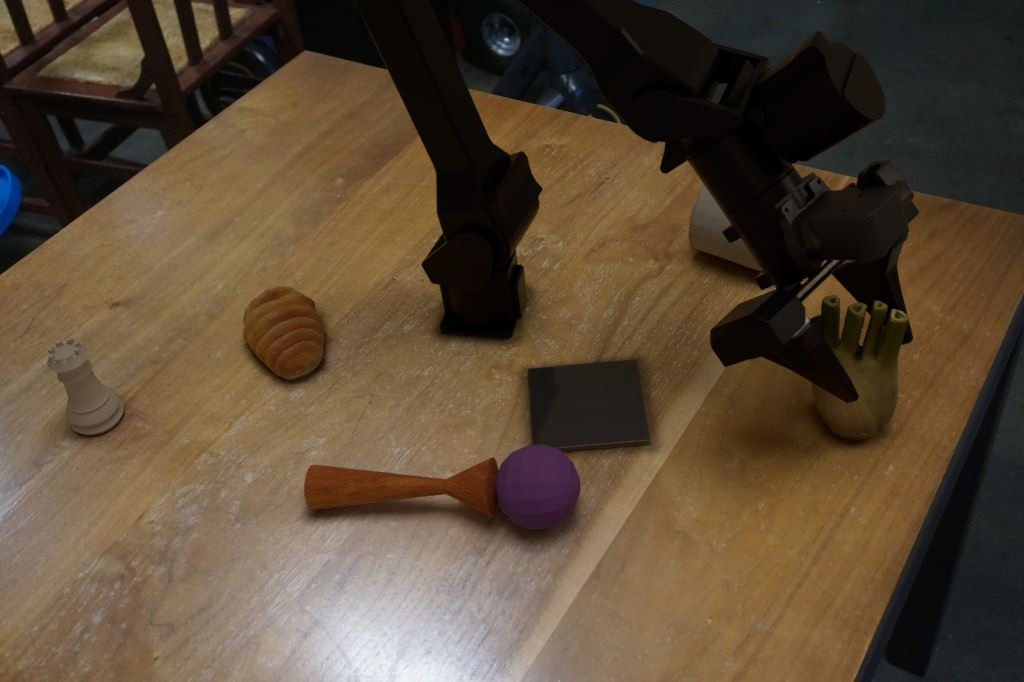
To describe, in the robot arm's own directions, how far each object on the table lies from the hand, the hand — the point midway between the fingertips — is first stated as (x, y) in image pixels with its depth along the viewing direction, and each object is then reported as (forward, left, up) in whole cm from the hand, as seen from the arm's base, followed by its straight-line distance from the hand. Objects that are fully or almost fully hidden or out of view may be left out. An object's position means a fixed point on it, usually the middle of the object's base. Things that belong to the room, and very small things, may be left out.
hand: (881, 371), depth 78 cm
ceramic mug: (-11, +22, -7) cm, 25 cm away
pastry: (-49, +4, -7) cm, 49 cm away
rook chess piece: (-62, -7, -7) cm, 62 cm away
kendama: (-30, -12, -7) cm, 33 cm away
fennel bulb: (-1, +1, -7) cm, 7 cm away
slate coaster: (-22, 0, -7) cm, 23 cm away
